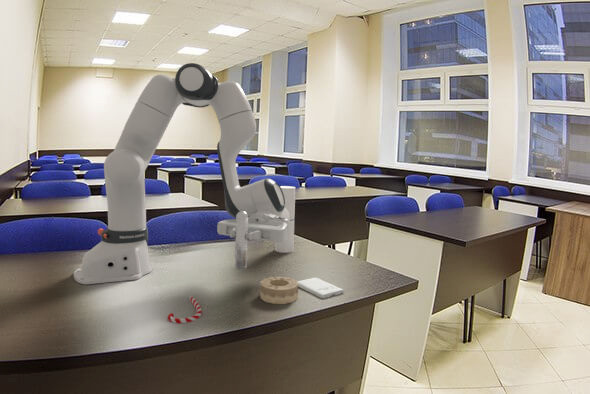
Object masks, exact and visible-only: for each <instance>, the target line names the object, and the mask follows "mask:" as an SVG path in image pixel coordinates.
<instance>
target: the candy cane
mask: <svg viewBox="0 0 590 394" xmlns="http://www.w3.org/2000/svg"><path fill="white" fill-rule="evenodd" d="M188 300H189V302H191V304H192V305H193V307H194V309H195V312H196V313H195V314H193V315H191V316H189V317H185V318H176V317H174V313H172V312H170V313H169V314H168V315H167V321H169V322H170V323H173V322H174V324H187V323H192V322H194V321H197V320H198V319H199V318H200V317H201V316H202V308H201V305H200V303H199V302H198V301H197V300H196V299H195V297H193V296H190V297H189V299H188Z"/></svg>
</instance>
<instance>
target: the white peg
mask: <svg viewBox="0 0 590 394" xmlns="http://www.w3.org/2000/svg"><path fill="white" fill-rule="evenodd" d="M248 218H249V217H248V214H247V213H246V212H245V211H240V212H238V213H237V215H236V218H235V219H236V238H235V249H234V250H235V251H234V252H235V253H234V268H235V269H236V270H245V269H248V268H247V267H248V242H249V240H247V239H246V233H248Z"/></svg>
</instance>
